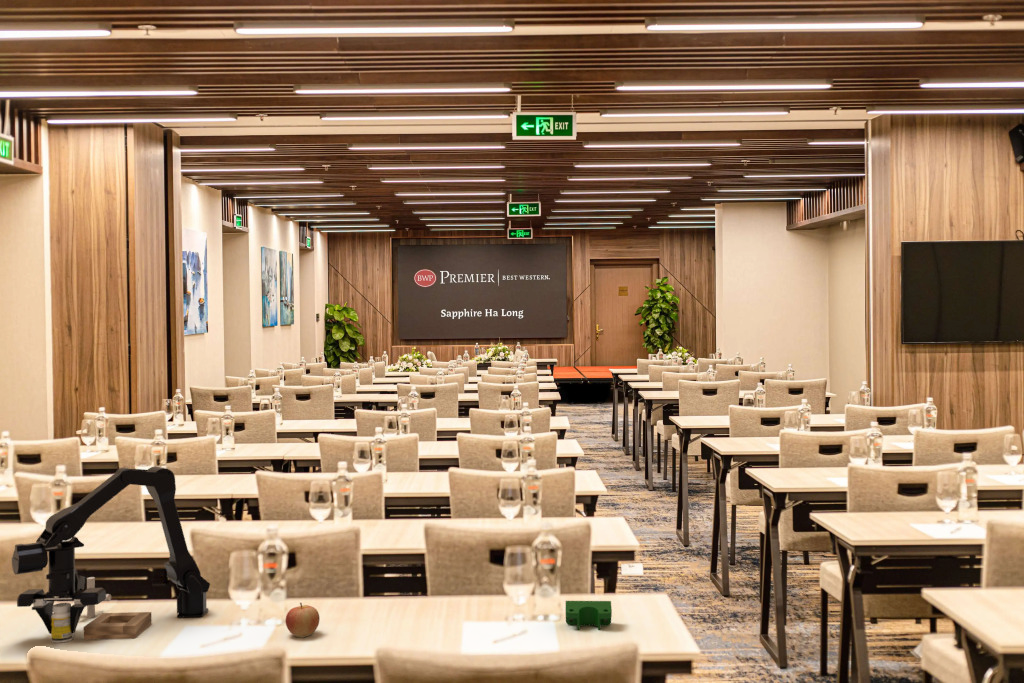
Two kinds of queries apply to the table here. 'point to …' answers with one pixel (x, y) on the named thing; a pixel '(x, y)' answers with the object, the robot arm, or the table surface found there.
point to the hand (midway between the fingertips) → (62, 633)
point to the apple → (302, 620)
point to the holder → (117, 625)
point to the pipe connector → (92, 607)
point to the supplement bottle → (61, 623)
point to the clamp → (588, 613)
